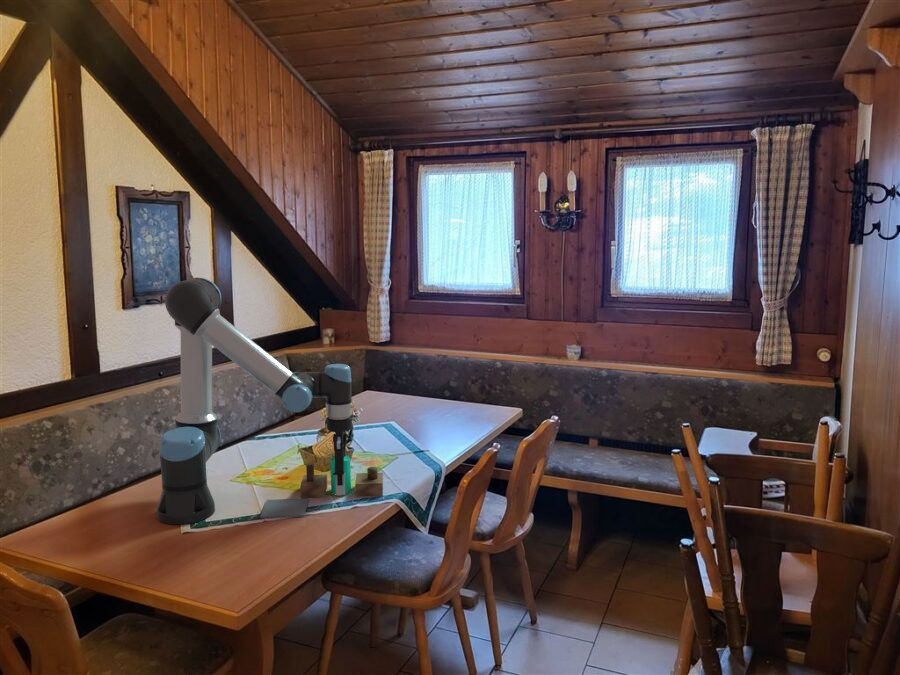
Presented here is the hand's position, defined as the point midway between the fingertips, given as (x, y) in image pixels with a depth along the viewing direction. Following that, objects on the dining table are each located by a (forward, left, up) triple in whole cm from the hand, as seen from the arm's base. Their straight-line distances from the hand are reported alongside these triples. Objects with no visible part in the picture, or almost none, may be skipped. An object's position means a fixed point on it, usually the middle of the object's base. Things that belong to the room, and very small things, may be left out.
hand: (341, 490), depth 217 cm
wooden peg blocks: (0, 0, 0) cm, 0 cm away
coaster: (-15, -12, 0) cm, 19 cm away
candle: (0, 0, -1) cm, 1 cm away
